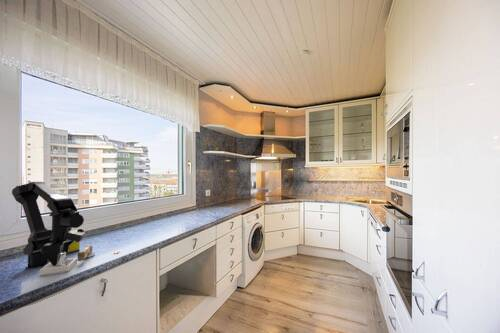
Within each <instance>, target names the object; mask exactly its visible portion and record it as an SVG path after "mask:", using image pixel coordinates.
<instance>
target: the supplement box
mask: <svg viewBox="0 0 500 333" xmlns="http://www.w3.org/2000/svg"><path fill="white" fill-rule="evenodd" d="M73 230H74V231H75V230H76V231H77V230H78V228H75V229H73ZM75 252H80V242H75V241H74V242H73V243H72V244H71V245H70V247H69V250H68V253H67V255H68V254H72V253H75Z"/></svg>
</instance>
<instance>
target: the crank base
mask: <svg viewBox="0 0 500 333" xmlns="http://www.w3.org/2000/svg"><path fill="white" fill-rule="evenodd" d="M119 253H120V250H115V251H114V253H113V254H114V255H116V254H119ZM94 256H95V252H93V251H92V254H88V255H87V256H86V257H85V259H88V258H92V257H94Z"/></svg>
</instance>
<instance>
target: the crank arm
mask: <svg viewBox="0 0 500 333" xmlns="http://www.w3.org/2000/svg"><path fill="white" fill-rule="evenodd" d="M92 252H93V245H91V244H90V245H85V247H84V248H83V249H82V250H81V251H77V262H82V261H85V259H86V258H85V257H86V256H87V255H88V254H92Z"/></svg>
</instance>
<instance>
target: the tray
mask: <svg viewBox="0 0 500 333" xmlns="http://www.w3.org/2000/svg"><path fill="white" fill-rule="evenodd" d="M77 264H78V257H72V258H66V266H60V267H54V266H53V265H52V264H51V262H49V263H48V264H46V265H45V266H43V267H41V269H39V276H40V277H42V276H48V275H56V274H63V273H69V272H70V271H71V270H72V269H73V268H74V267H75V266H76V265H77Z"/></svg>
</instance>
